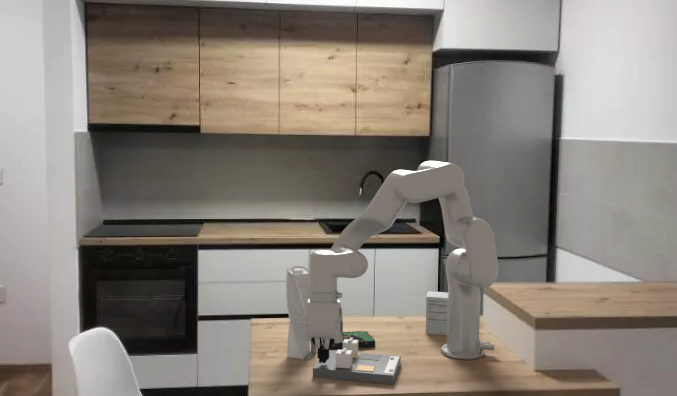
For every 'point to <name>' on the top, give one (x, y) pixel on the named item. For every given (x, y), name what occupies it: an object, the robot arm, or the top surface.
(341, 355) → the front tab
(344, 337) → the disk drive
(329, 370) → the switch board
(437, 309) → the supplement box
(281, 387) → the top surface
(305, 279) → the skyscraper
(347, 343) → the tab
